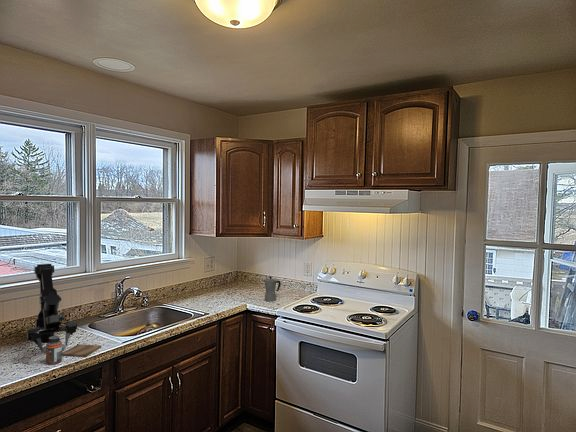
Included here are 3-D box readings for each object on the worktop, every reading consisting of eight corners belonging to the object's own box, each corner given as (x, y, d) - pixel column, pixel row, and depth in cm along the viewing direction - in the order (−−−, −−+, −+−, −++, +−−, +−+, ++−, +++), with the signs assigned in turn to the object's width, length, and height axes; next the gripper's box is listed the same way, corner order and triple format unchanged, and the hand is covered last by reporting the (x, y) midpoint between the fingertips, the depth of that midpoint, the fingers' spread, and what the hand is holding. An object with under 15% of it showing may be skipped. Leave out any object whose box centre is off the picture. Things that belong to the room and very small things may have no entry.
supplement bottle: (42, 363, 163) (42, 338, 163) (55, 358, 169) (55, 334, 168) (52, 366, 161) (52, 340, 161) (65, 360, 166) (65, 335, 166)
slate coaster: (35, 352, 175) (35, 350, 175) (51, 344, 185) (51, 343, 185) (55, 353, 174) (55, 352, 174) (70, 345, 184) (70, 344, 184)
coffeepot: (259, 300, 279) (259, 276, 279) (266, 297, 288) (266, 274, 287) (277, 303, 272) (277, 278, 272) (283, 300, 280) (283, 276, 280)
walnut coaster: (60, 355, 172) (60, 353, 172) (77, 346, 184) (77, 344, 184) (85, 357, 171) (85, 355, 171) (101, 347, 183) (101, 345, 183)
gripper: (27, 310, 162) (29, 343, 153) (76, 304, 173) (80, 334, 165) (26, 324, 168) (28, 356, 159) (73, 317, 179) (77, 346, 171)
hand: (54, 348), depth 164 cm, fingers open, 9 cm apart
